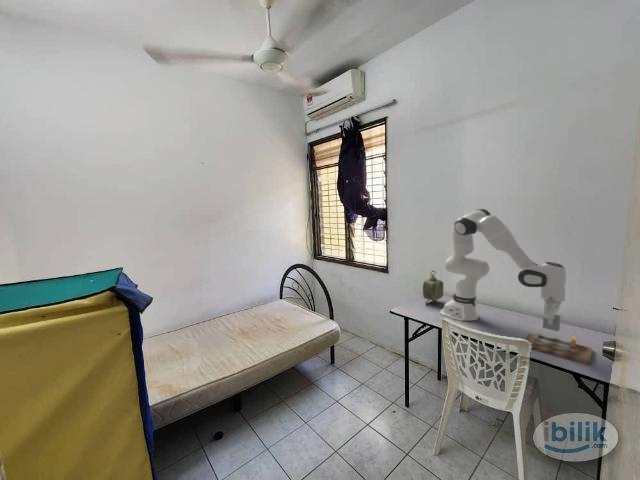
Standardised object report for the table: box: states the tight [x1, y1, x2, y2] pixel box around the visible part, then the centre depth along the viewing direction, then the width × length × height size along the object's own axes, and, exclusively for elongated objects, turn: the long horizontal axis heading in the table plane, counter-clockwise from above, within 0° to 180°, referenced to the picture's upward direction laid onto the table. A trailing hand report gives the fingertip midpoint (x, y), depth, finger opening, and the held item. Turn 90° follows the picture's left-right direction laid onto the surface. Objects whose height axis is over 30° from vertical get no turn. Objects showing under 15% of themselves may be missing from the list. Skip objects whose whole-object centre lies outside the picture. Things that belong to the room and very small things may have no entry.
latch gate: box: [571, 334, 577, 347], centre depth 130 cm, size 1×6×4 cm, turn 133°
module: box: [542, 314, 561, 332], centre depth 130 cm, size 6×3×7 cm, turn 42°
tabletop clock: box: [422, 270, 444, 305], centre depth 198 cm, size 14×9×25 cm, turn 130°
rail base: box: [525, 332, 593, 366], centre depth 131 cm, size 24×16×4 cm, turn 43°
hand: (551, 322), depth 130 cm, fingers closed on module, 3 cm apart
